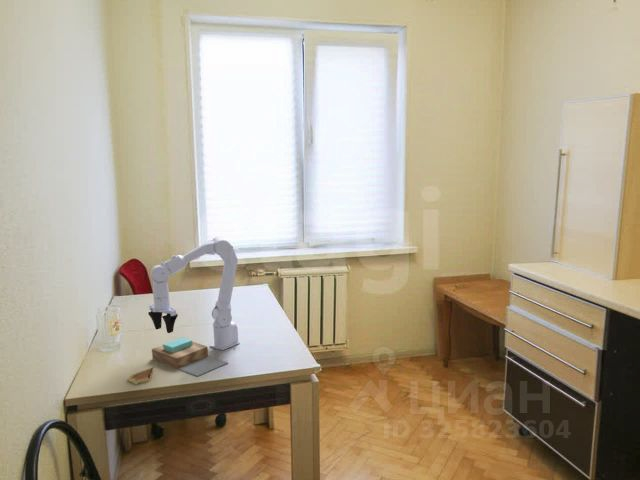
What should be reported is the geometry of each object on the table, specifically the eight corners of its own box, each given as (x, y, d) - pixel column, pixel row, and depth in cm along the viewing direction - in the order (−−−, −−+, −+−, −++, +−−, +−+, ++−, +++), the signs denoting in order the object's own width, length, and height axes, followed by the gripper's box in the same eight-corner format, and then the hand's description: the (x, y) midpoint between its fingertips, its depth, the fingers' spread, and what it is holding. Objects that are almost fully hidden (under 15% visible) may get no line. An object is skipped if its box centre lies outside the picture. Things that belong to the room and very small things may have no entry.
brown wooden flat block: (183, 347, 203) (182, 338, 202) (208, 356, 193) (207, 346, 192) (152, 358, 192) (151, 349, 191) (177, 368, 182) (176, 358, 181)
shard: (153, 370, 182) (153, 365, 182) (166, 375, 178) (166, 370, 177) (126, 381, 174) (126, 376, 174) (139, 386, 169) (138, 382, 169)
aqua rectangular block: (183, 342, 198) (182, 337, 197) (192, 345, 194) (192, 340, 193) (163, 349, 191) (163, 344, 190) (172, 352, 187) (172, 347, 187)
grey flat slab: (209, 356, 192) (208, 355, 192) (227, 363, 185) (227, 362, 185) (178, 369, 182) (178, 368, 182) (197, 376, 175) (197, 375, 175)
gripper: (141, 296, 192) (144, 329, 194) (163, 301, 183) (166, 337, 185) (157, 292, 197) (160, 324, 200) (179, 297, 189) (182, 331, 191)
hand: (164, 330), depth 193 cm, fingers open, 7 cm apart
